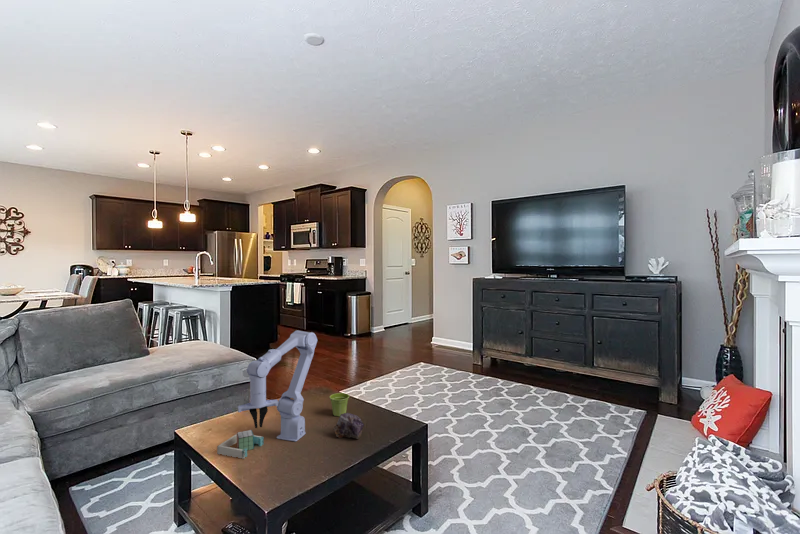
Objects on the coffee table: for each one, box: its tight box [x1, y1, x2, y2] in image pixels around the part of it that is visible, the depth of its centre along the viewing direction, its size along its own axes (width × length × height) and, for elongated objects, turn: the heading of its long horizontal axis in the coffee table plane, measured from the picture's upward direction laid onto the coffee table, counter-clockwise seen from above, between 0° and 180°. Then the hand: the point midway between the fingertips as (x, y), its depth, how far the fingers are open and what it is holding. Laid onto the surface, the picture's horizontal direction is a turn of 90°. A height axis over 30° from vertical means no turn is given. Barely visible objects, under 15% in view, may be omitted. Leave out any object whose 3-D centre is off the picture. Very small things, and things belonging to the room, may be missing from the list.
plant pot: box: [329, 392, 350, 417], centre depth 190 cm, size 9×9×9 cm
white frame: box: [216, 433, 264, 460], centre depth 156 cm, size 12×12×3 cm
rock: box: [332, 412, 365, 440], centre depth 168 cm, size 12×9×10 cm
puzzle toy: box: [236, 429, 255, 451], centre depth 157 cm, size 6×6×6 cm
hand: (258, 426), depth 153 cm, fingers closed
